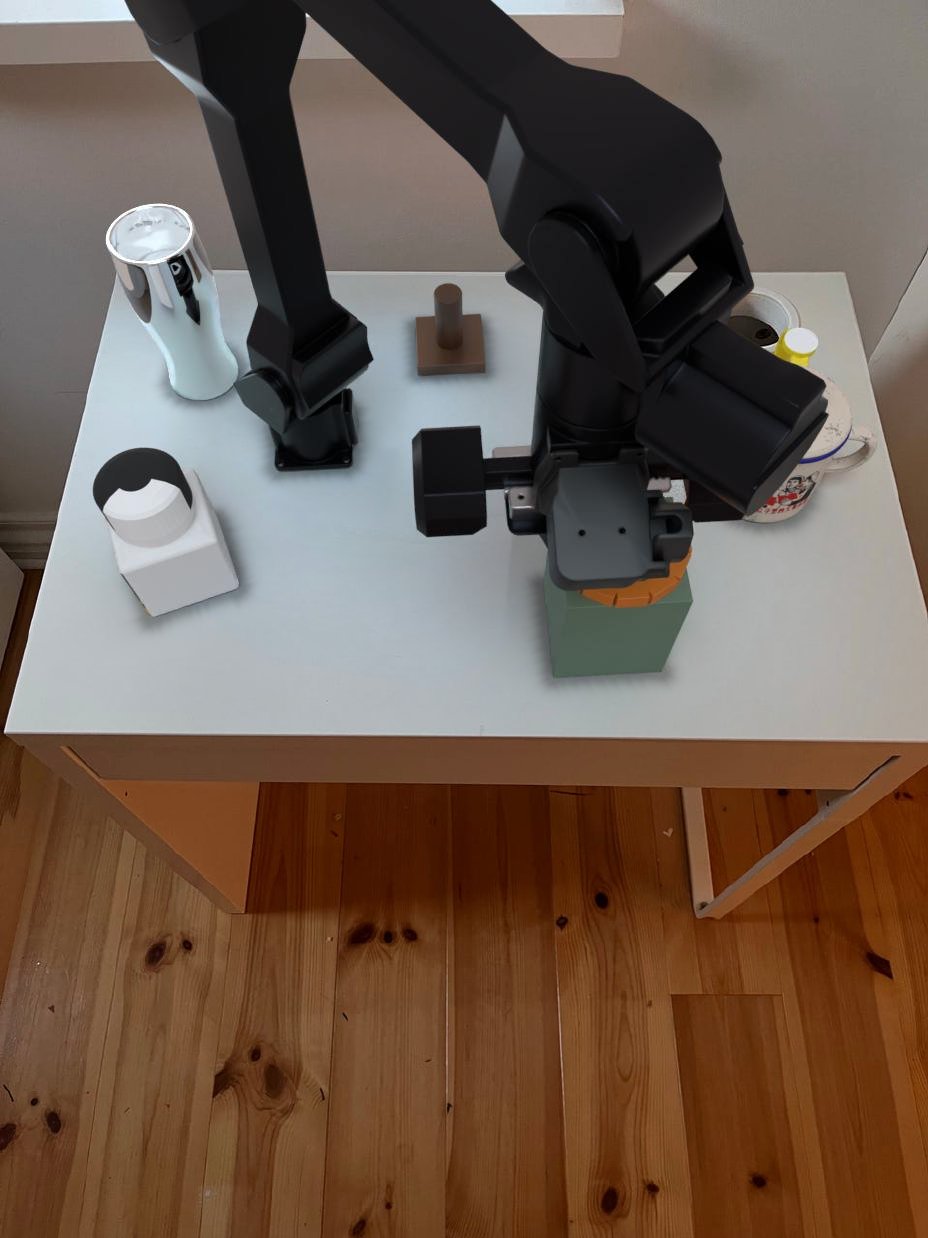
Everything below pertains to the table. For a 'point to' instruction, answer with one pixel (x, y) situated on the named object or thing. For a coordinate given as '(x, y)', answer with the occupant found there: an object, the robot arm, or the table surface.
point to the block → (612, 631)
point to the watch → (796, 345)
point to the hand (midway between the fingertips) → (566, 550)
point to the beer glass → (174, 296)
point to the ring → (640, 589)
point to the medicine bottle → (163, 530)
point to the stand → (449, 337)
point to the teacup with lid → (820, 457)
